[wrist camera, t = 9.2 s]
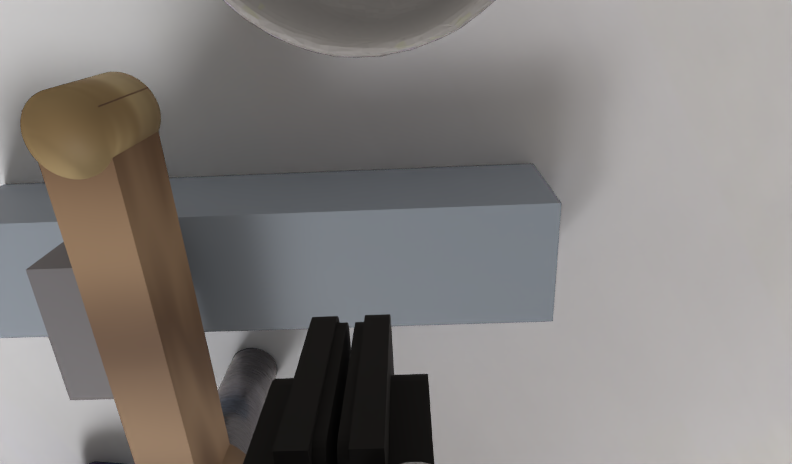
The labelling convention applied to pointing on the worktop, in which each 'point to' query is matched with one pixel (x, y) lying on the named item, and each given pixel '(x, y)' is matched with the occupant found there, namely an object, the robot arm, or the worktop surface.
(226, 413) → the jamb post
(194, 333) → the bar
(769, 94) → the worktop surface
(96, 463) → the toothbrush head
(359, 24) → the teacup
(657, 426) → the worktop surface
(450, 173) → the door board
